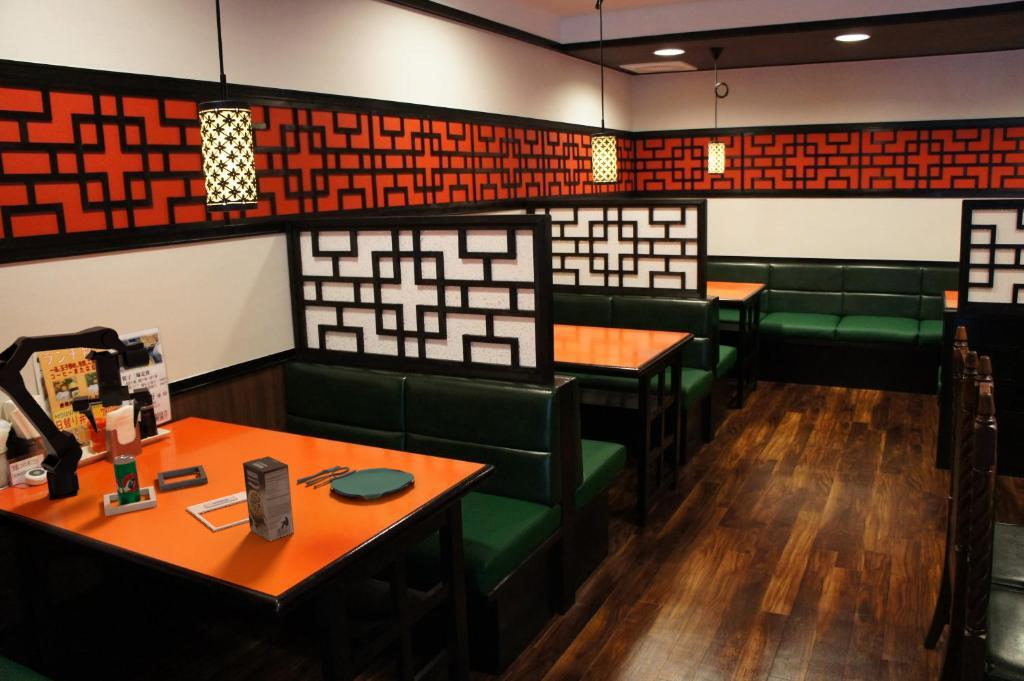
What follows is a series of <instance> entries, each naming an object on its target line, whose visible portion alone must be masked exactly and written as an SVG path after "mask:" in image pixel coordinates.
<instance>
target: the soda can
mask: <svg viewBox="0 0 1024 681" xmlns="http://www.w3.org/2000/svg"><path fill="white" fill-rule="evenodd" d="M112 466H113V472H114V479H115V487H116V493H117V495H118V500H117V501H118V505H119V506H121V505H126V504H131V503H136V502H142V501H141V500H142V495H140V488H141V487H140V482H139V474H138V468H137V467H138V466H137V460H136V458H135V457H134V454H130V453H129V454H122V455H118V456H116V457H114V459H113V462H112Z"/></svg>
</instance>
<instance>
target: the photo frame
mask: <svg viewBox="0 0 1024 681" xmlns="http://www.w3.org/2000/svg"><path fill="white" fill-rule="evenodd" d="M244 502H247V495H246V490H245V491H244V490H243V491H241V492H237V493H234V494H230V495H225V496H222V497H220V498H215V499H212V500H209V501H205V502H201V503H198V504H195V505H191V506H187V507H185V508H186V511H187V512H189V513H190V512H191V513H192V514H191V513H190V514H191V515H193V514H194V515H195V516H196V517H197V518H196V517H195V516H194V515H193V516H194V517H195V518H196V519H198V518H199V519H200V520H201V521H202V523H203V522H204V523H205V524H206V525H207V527H208V528H209V527H210V528H211V529H212V530H211V529H210V528H209V529H210V530H211V531H213V530H214V531H216V530H219V531H221V530H220V529H222V530H224V529H223V528H225V529H227V528H226V527H229V528H231V527H230V526H232V527H235V526H238V524H239V525H241V524H245V523H248V522H249V517H248V518H244V519H242V520H237V521H234V522H231V523H228V524H225V525H221V526H219V527H218V526H217V527H215V526H214V525H213V524H212V523H210V522H209V521H208V520H207V519H205V518H204V517H202V516H201V514H200V513H203V514H205V513H204V512H206V513H208V512H207V511H210V512H212V511H211V510H213V511H215V510H214V509H217V510H219V509H218V508H220V509H223V508H226V507H225V506H227V507H230V506H233V504H234V505H236V503H237V504H240V503H244ZM229 505H230V506H229ZM222 507H223V508H222ZM199 519H198V520H199ZM200 520H199V521H200ZM201 521H200V522H201ZM204 523H203V524H204ZM205 524H204V525H205ZM206 525H205V526H206ZM234 525H235V526H234ZM214 531H213V532H214ZM216 532H217V531H216Z"/></svg>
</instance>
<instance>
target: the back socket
mask: <svg viewBox="0 0 1024 681" xmlns="http://www.w3.org/2000/svg"><path fill="white" fill-rule="evenodd" d="M197 473H198V475H199V477H195V478H190V479H184V480H179V481H174V482H168V483H165V479H171V478H175V477H180V476H186V475H192V474H197ZM156 477H157V482H158V484H159V485H158V486H159V488H160V489H159V490H160V492H161V493H163V492H168V491H172V489H173V490H178V489H177V488H179V489H182V487H184V488H189V487H194V485H195V486H199V485H205V484H208V483H209V480H208V476H207V474H206V470H205V469H204V466H203V464H201V465H195V466H190V467H184V468H179V469H178V468H177V469H172V470H167V471H161V472H157V473H156Z"/></svg>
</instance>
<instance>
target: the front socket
mask: <svg viewBox="0 0 1024 681" xmlns="http://www.w3.org/2000/svg"><path fill="white" fill-rule="evenodd" d="M139 488H140V495H141V496H144V495H149V499H148V500H143V501H140V502H136V503H131V504H126V505H117V506H111V502H113V501H118V495H117V492H113V493H108V494H103V504H104V505H103V506H104V514H105V517H108V516H114V515H119V514H123V513H124V514H125V513H128V512H135V511H139V510H140V511H141V510H144V509H149V508H154V507H158V503H157V501H158V500H157V496H156V492H155V488H154V485H151V486H145V487H139Z"/></svg>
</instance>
